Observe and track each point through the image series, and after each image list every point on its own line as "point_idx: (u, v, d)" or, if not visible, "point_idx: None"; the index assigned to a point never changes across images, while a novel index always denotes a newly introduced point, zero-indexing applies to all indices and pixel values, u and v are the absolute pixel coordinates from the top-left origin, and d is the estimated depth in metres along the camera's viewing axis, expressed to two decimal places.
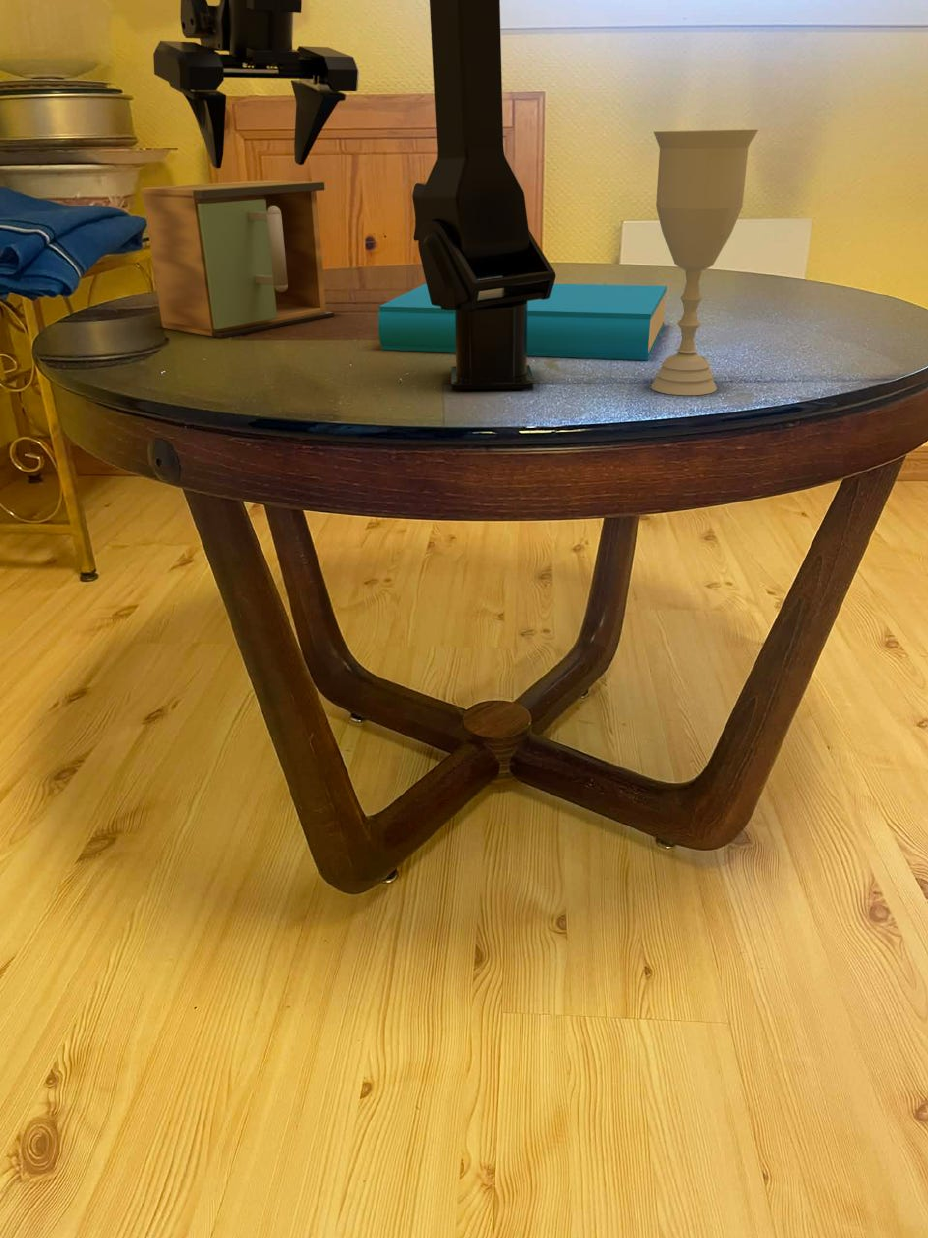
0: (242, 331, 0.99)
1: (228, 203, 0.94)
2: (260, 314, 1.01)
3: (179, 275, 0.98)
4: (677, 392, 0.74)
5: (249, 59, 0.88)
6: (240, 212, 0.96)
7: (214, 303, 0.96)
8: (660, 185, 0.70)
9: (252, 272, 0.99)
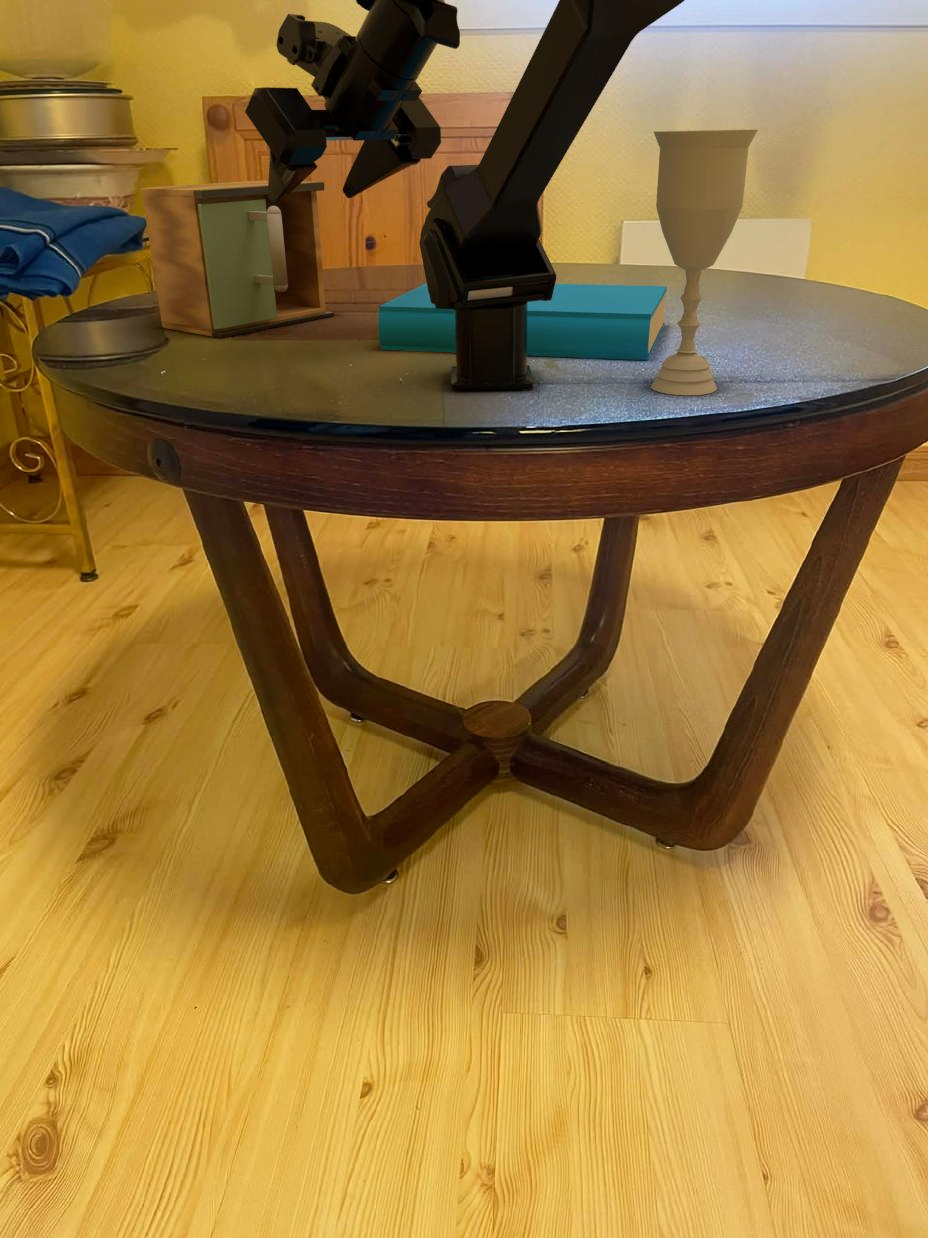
0: (242, 331, 0.99)
1: (228, 203, 0.94)
2: (260, 314, 1.01)
3: (179, 275, 0.98)
4: (677, 392, 0.74)
5: (350, 133, 0.82)
6: (240, 212, 0.96)
7: (214, 303, 0.96)
8: (660, 185, 0.70)
9: (252, 272, 0.99)
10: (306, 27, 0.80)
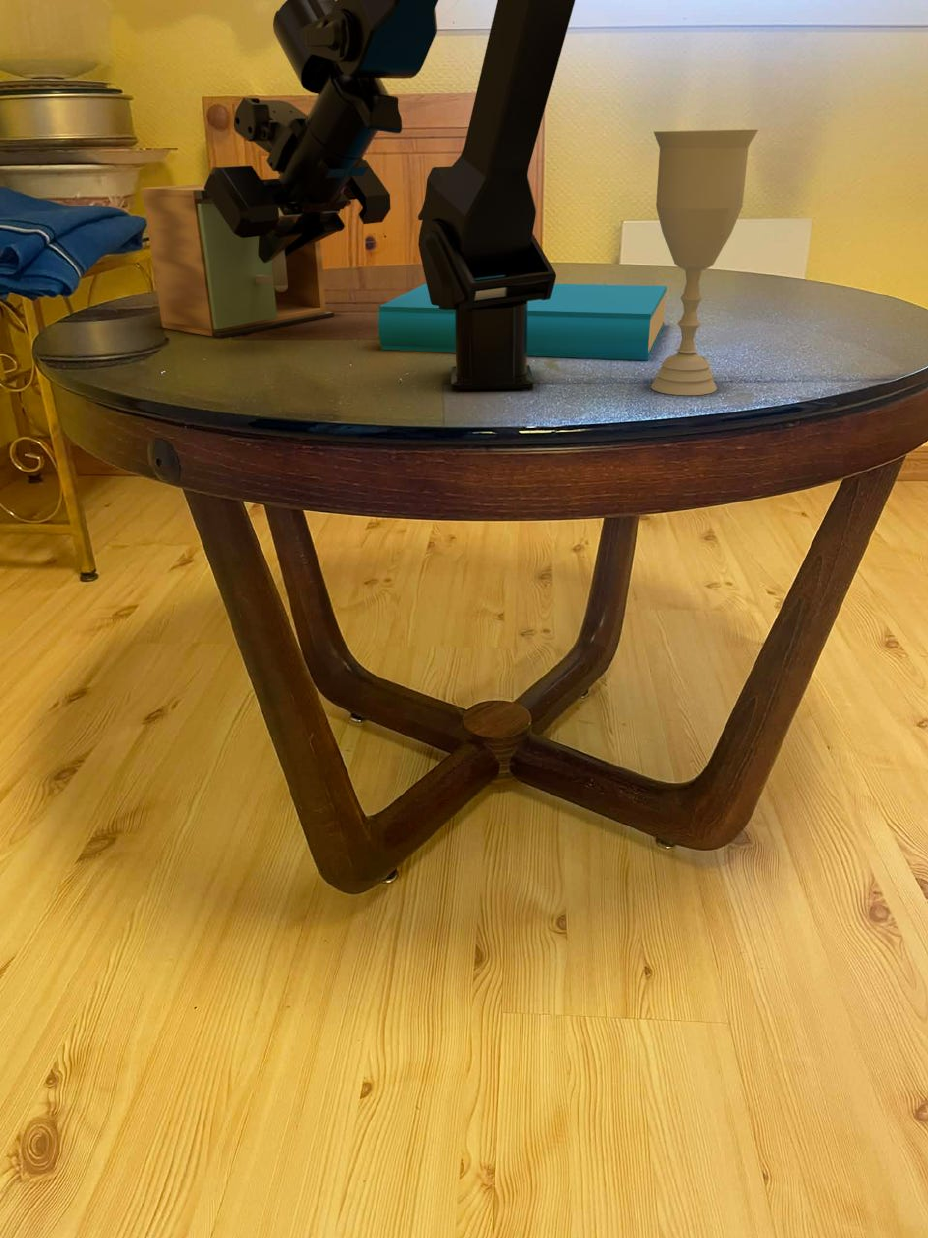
0: (242, 331, 0.99)
1: None
2: (260, 314, 1.01)
3: (179, 275, 0.98)
4: (677, 392, 0.74)
5: (302, 205, 0.89)
6: None
7: (214, 303, 0.96)
8: (660, 185, 0.70)
9: (252, 272, 0.99)
10: (260, 110, 0.86)
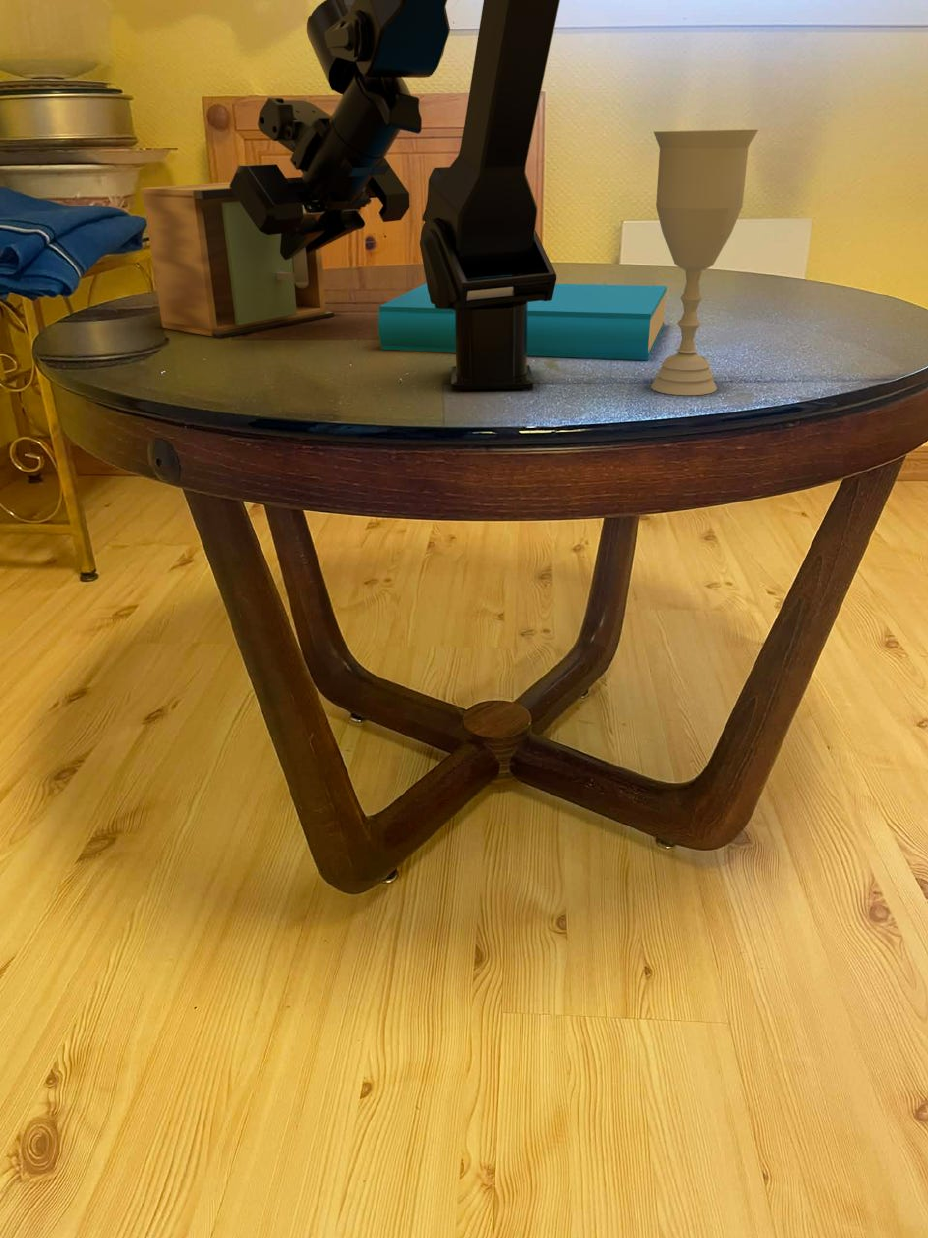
0: (242, 331, 0.99)
1: None
2: (281, 310, 1.03)
3: (179, 275, 0.98)
4: (677, 392, 0.74)
5: (325, 203, 0.90)
6: None
7: (236, 299, 0.98)
8: (660, 185, 0.70)
9: (273, 269, 1.01)
10: (285, 110, 0.88)
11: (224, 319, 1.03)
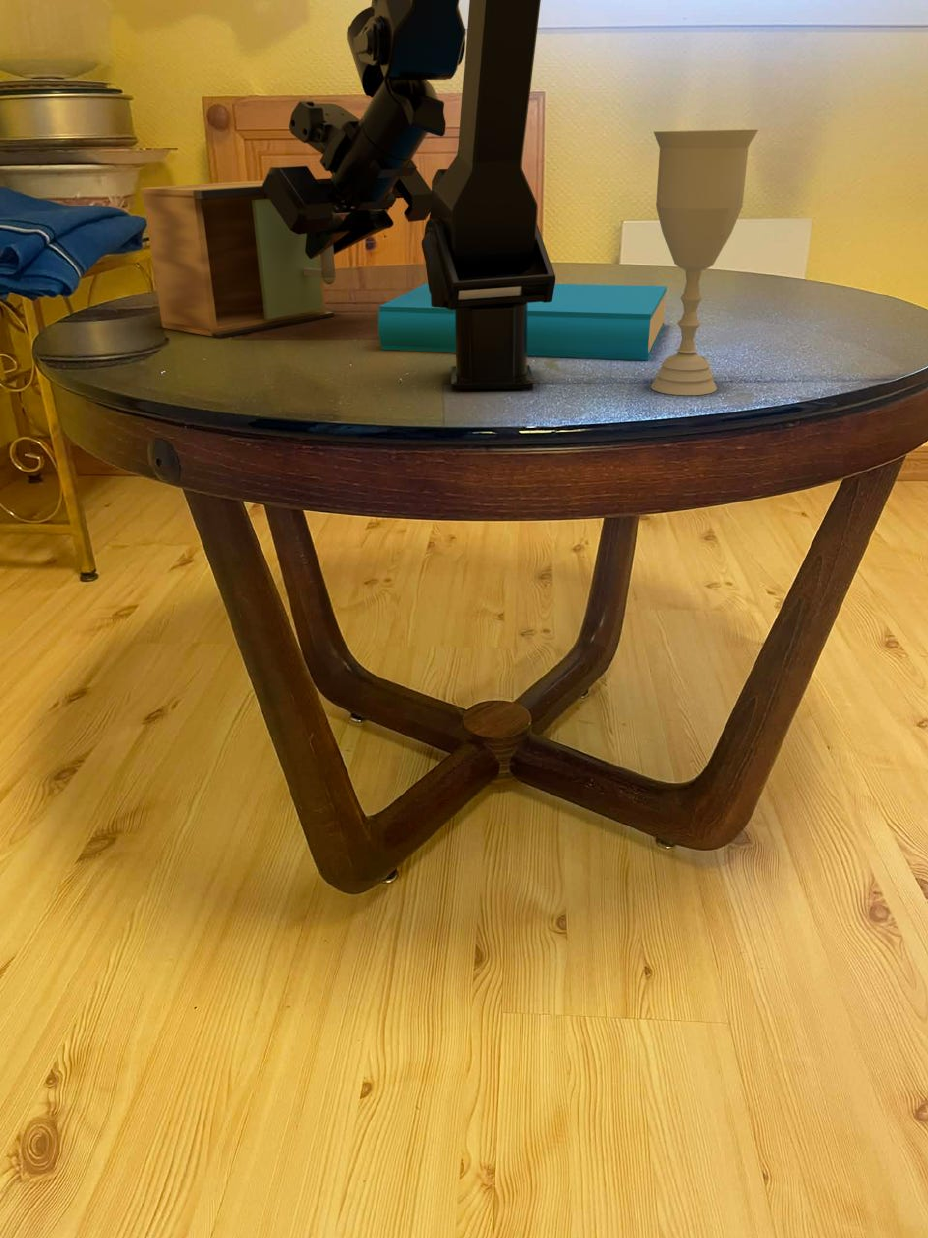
0: (242, 331, 0.99)
1: None
2: (307, 305, 1.05)
3: (179, 275, 0.98)
4: (677, 392, 0.74)
5: (353, 204, 0.93)
6: None
7: (265, 295, 1.01)
8: (660, 185, 0.70)
9: (301, 265, 1.03)
10: (315, 112, 0.91)
11: (224, 319, 1.03)
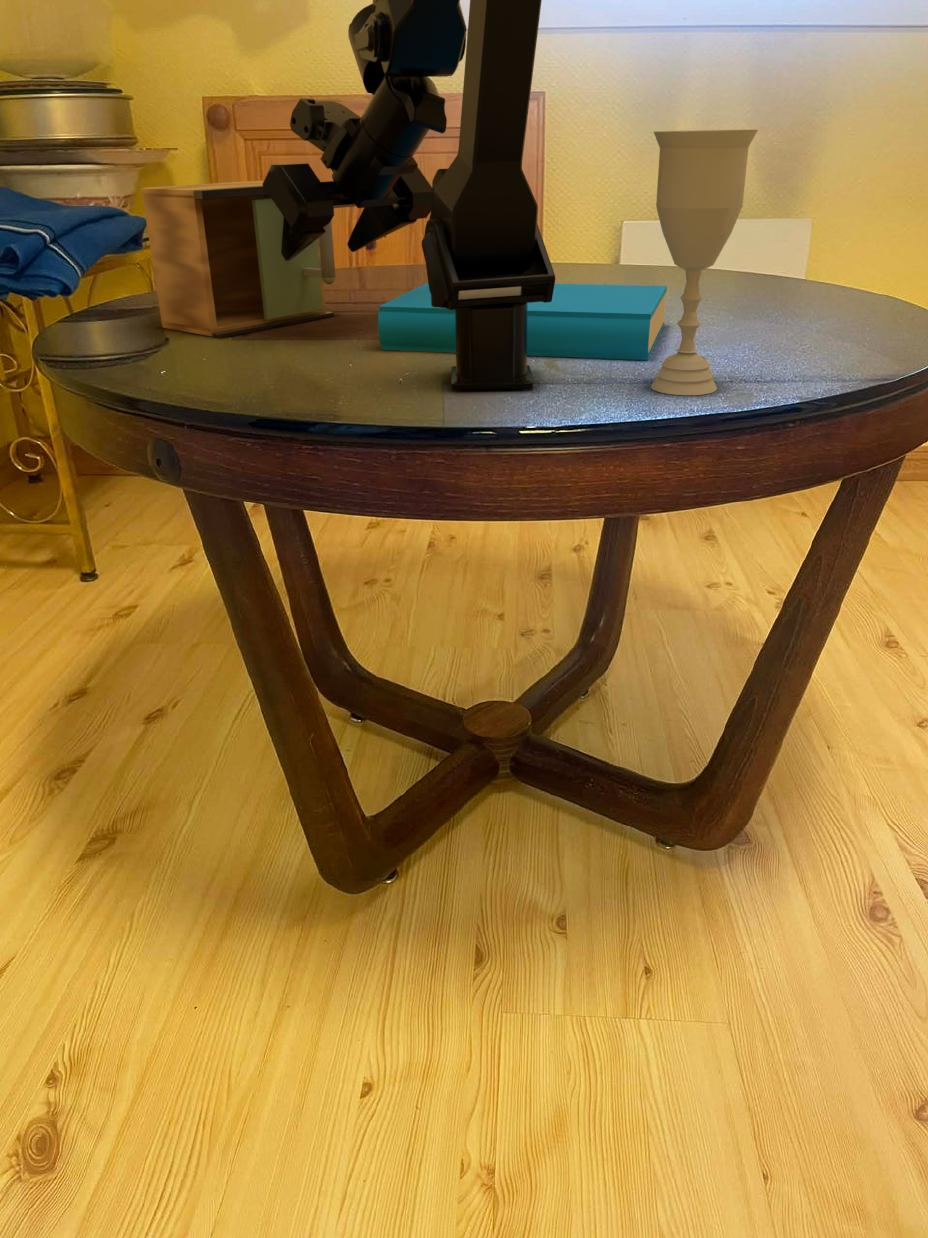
0: (242, 331, 0.99)
1: None
2: (307, 305, 1.05)
3: (179, 275, 0.98)
4: (677, 392, 0.74)
5: (354, 201, 0.93)
6: None
7: (265, 295, 1.01)
8: (660, 185, 0.70)
9: (301, 265, 1.03)
10: (316, 110, 0.91)
11: (224, 319, 1.03)
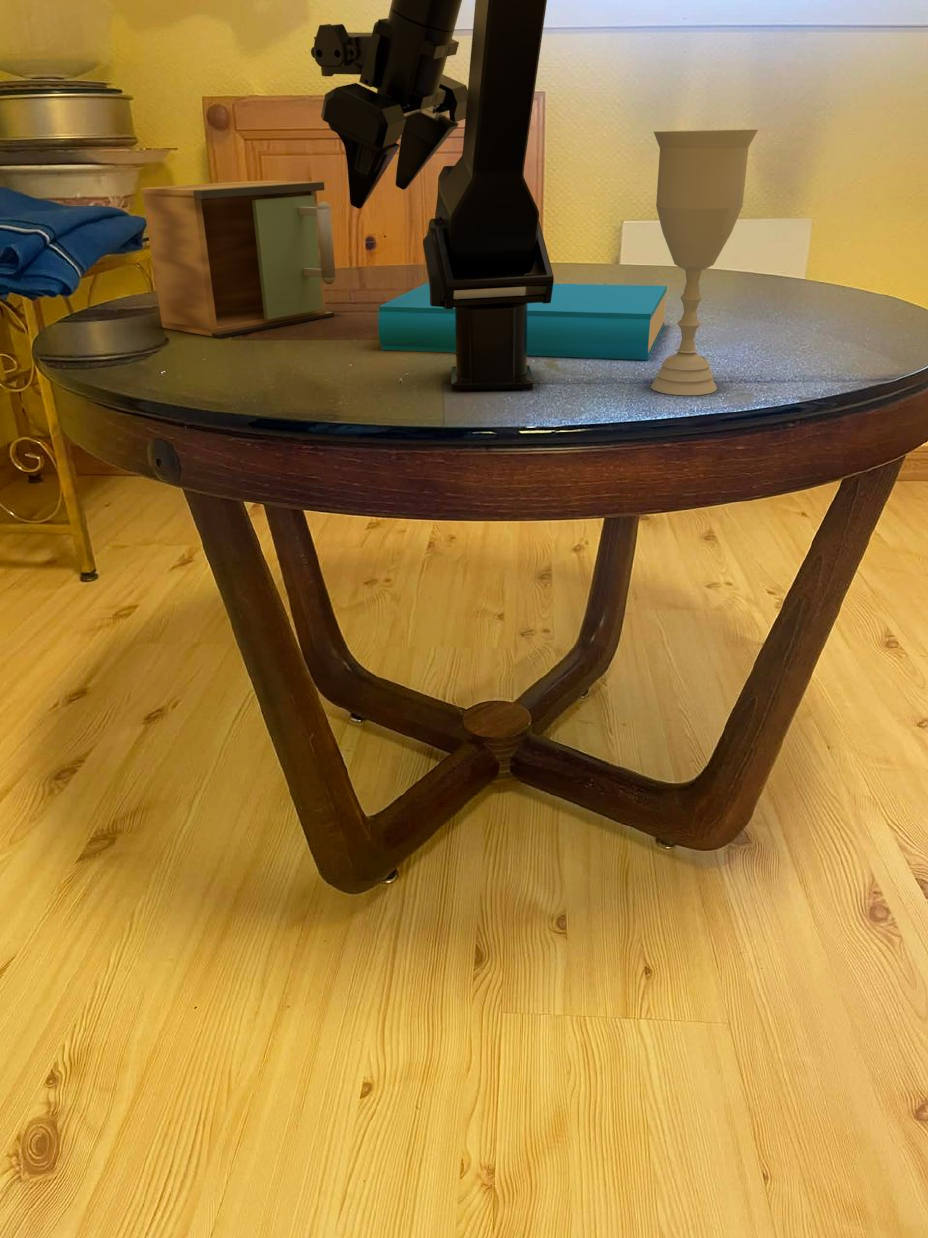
0: (242, 331, 0.99)
1: (280, 199, 0.99)
2: (307, 305, 1.05)
3: (179, 275, 0.98)
4: (677, 392, 0.74)
5: (414, 104, 0.85)
6: (291, 207, 1.00)
7: (265, 295, 1.01)
8: (660, 185, 0.70)
9: (301, 265, 1.03)
10: (340, 29, 0.84)
11: (224, 319, 1.03)
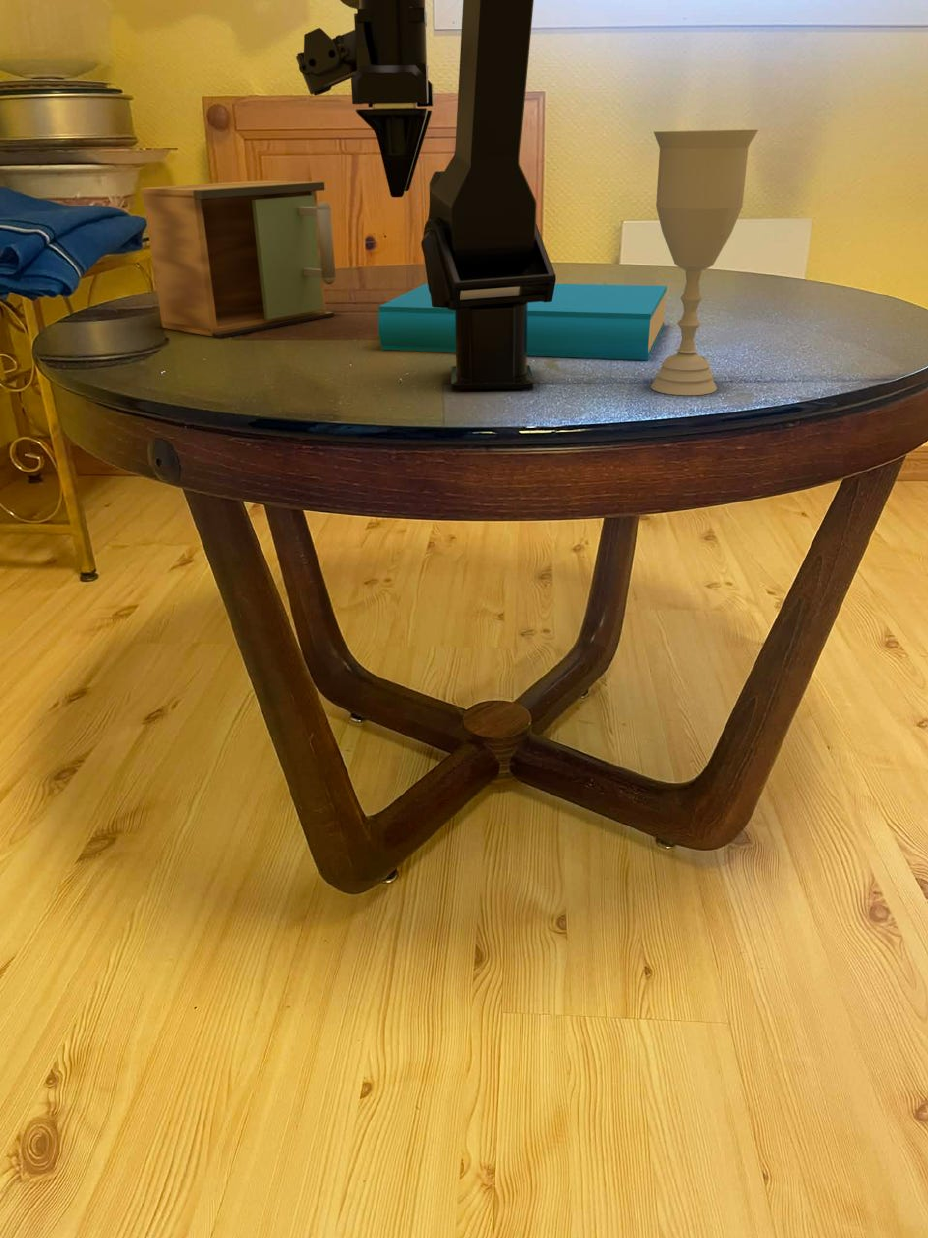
0: (242, 331, 0.99)
1: (280, 199, 0.99)
2: (307, 305, 1.05)
3: (179, 275, 0.98)
4: (677, 392, 0.74)
5: None
6: (291, 207, 1.00)
7: (265, 295, 1.01)
8: (660, 185, 0.70)
9: (301, 265, 1.03)
10: (324, 32, 0.82)
11: (224, 319, 1.03)
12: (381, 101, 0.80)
